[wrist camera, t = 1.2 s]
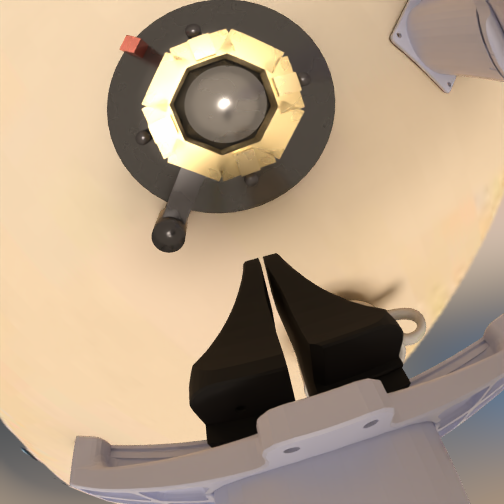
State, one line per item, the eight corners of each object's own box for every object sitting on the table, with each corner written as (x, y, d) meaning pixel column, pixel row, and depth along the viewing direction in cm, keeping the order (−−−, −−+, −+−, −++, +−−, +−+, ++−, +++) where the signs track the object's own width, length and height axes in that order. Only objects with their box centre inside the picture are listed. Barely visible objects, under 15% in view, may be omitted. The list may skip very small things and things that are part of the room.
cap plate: (170, -20, 12) (161, -50, 8) (360, 67, 18) (398, 63, 13) (86, 168, 19) (56, 189, 14) (270, 234, 24) (285, 268, 19)
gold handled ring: (189, 22, 14) (186, 9, 11) (312, 76, 17) (329, 73, 14) (112, 211, 19) (99, 229, 17) (224, 250, 23) (226, 272, 20)
